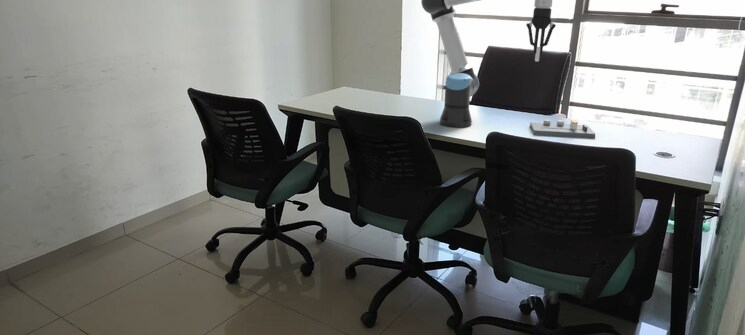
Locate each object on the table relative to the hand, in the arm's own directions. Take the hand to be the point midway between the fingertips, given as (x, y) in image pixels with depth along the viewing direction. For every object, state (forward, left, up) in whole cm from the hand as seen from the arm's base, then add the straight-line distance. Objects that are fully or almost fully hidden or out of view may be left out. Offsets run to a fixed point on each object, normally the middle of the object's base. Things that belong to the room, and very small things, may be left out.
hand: (536, 61), depth 245 cm
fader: (+18, -12, -28) cm, 35 cm away
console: (+13, -10, -30) cm, 35 cm away
